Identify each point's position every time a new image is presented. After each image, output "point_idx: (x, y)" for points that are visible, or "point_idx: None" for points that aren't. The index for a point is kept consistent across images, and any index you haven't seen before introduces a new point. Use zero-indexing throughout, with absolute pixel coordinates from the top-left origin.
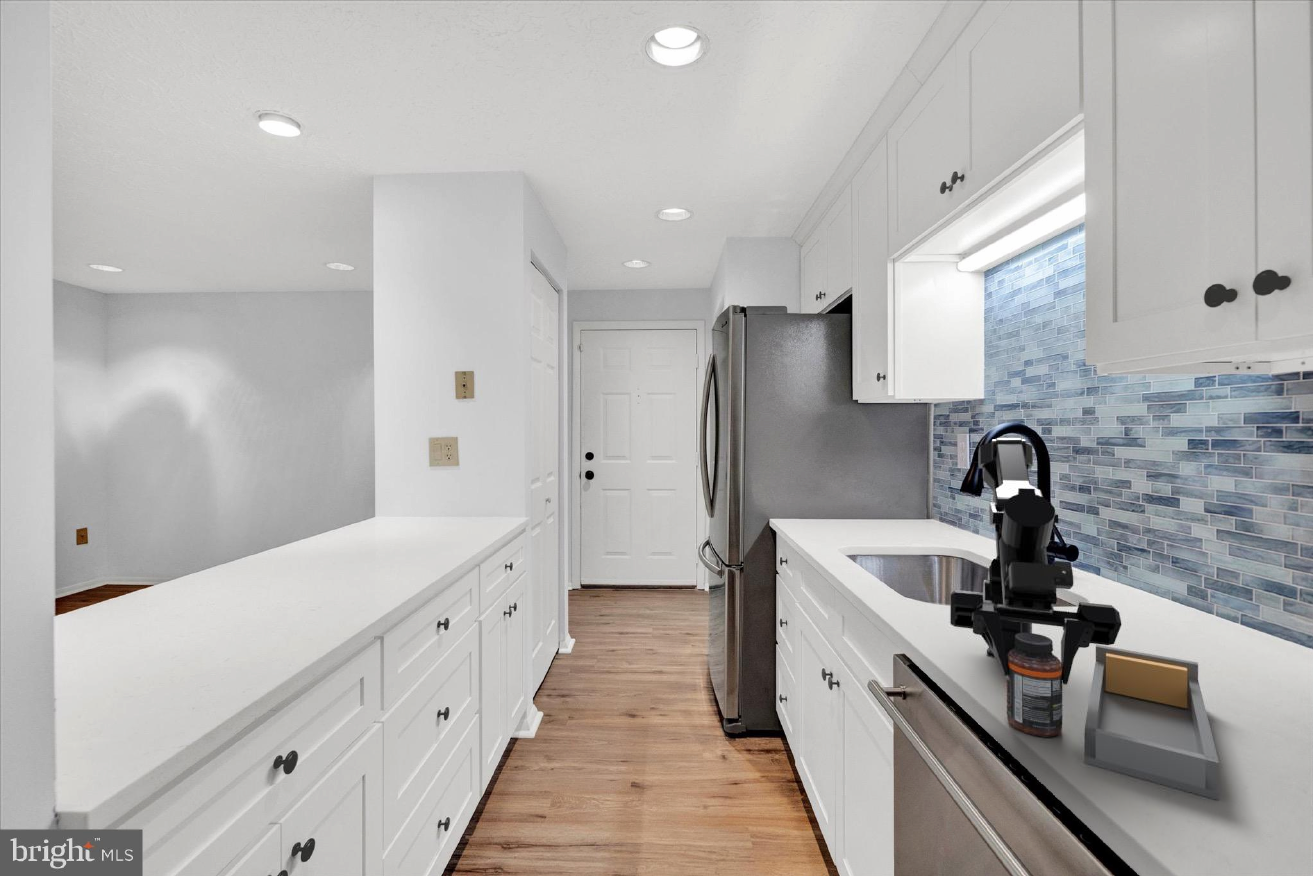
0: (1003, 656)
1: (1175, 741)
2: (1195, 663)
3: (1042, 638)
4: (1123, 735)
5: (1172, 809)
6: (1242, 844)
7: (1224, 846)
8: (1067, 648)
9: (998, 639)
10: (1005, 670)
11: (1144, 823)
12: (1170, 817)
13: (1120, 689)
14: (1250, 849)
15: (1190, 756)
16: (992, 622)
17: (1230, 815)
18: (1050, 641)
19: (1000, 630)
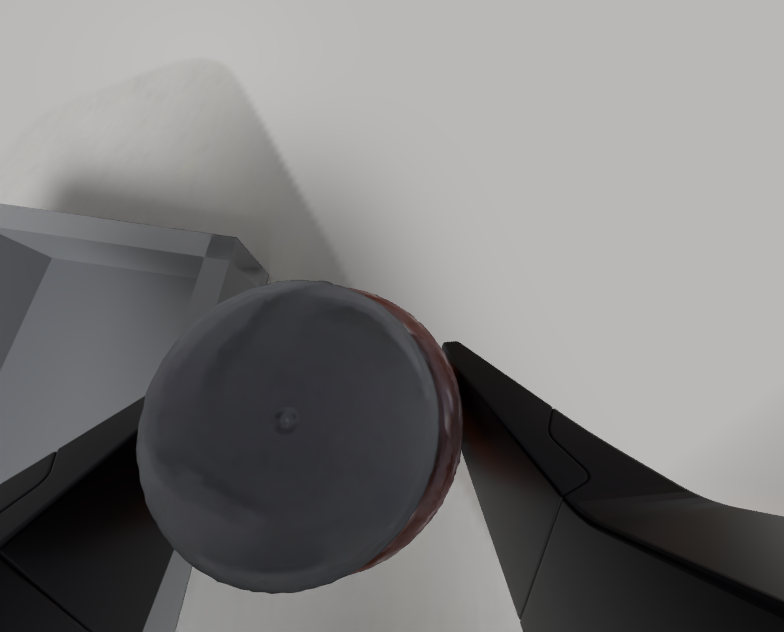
0: (479, 373)
1: (3, 470)
2: None
3: (212, 440)
4: (143, 246)
5: (157, 178)
6: (92, 128)
7: (123, 112)
8: (60, 477)
9: (549, 432)
10: (453, 342)
11: (219, 120)
12: (171, 153)
13: None
14: (87, 121)
15: (20, 208)
16: (720, 530)
17: (63, 202)
18: (159, 375)
19: (577, 500)
